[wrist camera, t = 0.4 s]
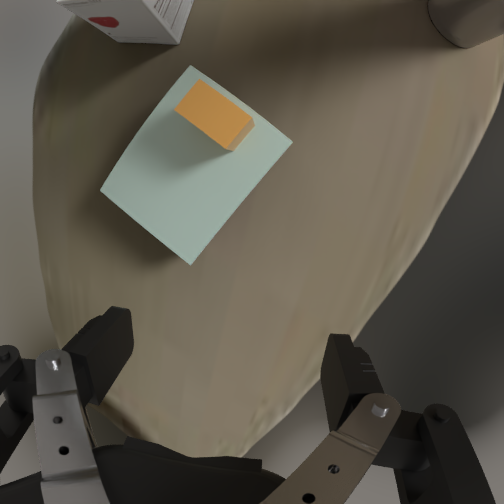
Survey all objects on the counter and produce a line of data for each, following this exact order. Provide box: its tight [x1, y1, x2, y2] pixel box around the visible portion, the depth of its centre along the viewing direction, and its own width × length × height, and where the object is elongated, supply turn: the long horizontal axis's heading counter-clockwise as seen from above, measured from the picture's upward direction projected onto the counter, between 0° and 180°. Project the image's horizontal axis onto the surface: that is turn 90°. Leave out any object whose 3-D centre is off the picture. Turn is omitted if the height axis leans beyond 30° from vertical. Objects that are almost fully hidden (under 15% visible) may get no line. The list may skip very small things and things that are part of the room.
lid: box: [100, 65, 293, 265], centre depth 26 cm, size 15×12×8 cm
